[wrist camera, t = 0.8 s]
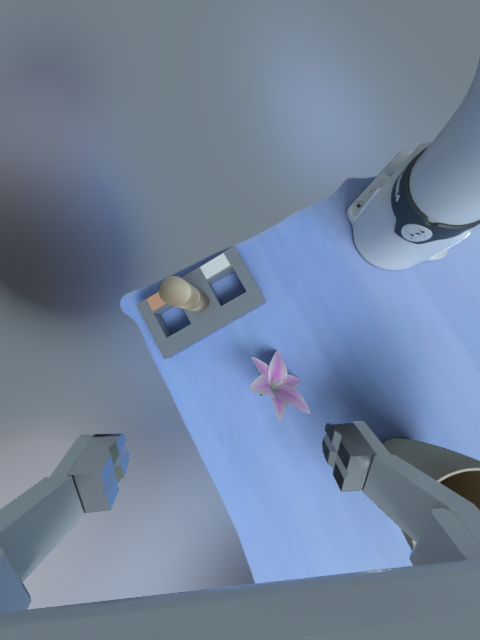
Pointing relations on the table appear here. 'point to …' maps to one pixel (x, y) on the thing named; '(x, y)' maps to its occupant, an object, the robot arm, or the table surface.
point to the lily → (278, 385)
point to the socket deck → (214, 314)
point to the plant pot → (440, 468)
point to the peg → (183, 295)
